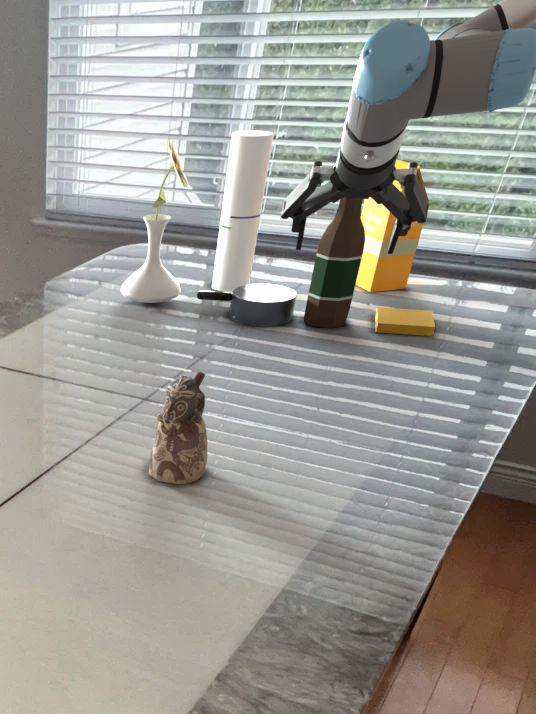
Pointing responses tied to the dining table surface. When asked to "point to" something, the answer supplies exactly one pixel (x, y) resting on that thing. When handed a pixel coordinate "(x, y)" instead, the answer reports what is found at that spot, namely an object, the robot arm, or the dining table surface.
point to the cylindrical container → (241, 208)
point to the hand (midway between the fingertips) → (345, 243)
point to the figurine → (181, 434)
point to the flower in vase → (155, 252)
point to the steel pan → (257, 304)
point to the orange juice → (386, 245)
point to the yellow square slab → (404, 321)
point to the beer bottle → (336, 267)
